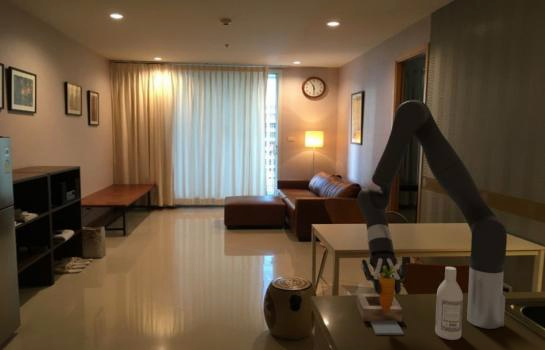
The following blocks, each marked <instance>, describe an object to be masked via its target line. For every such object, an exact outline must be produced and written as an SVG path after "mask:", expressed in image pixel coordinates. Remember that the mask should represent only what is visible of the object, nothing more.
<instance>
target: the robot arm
mask: <svg viewBox="0 0 545 350" xmlns="http://www.w3.org/2000/svg"><path fill="white" fill-rule="evenodd" d="M413 136H414V137H415V138H416V139H417V141H418V142H419V144H420V146H421V148H422V150H423V153H424V157H425V160H426V163H427V164H428V165H427V166H428V168H429V170H430V172H431V173H432V175H433V177H434V178H435V180H436V181H437V183H438V184H439V186H440V187H441V189H442V190H443V191H444V192H445V194H446V195H447V196H448V198H450V199H451V200H452V201H453V203H454V204H455V205H456V206H457V207H458V209H459V210H460V212H461V213H462V215H463V217H464V219H465V221H466V224H467V225H468V227H469V230H470V232H471V238H470V239H471V240H470V241H471V244H470V245H471V246H470V257H469V267H468V268H469V270H468V292H467V293H468V294H467V309H466V310H467V311H466V320H467V321H468V322H469V323H470V324H471V325H472V326H476V327H477V328H478V327H479V328H483V329H489V330H491V329H492V330H493V329H499V328H501V327H504V326H505V325H504V324H505V307H506V306H505V305H506V296H505V295H504V294H503V290H504V289H503V287H504V269H505V264H506V258H507V256H506V255H507V244H508V241H507V240H508V233H507V232H508V231H507V228H506V227H505V225H504V224H503V222H502V221H501V220H500V219H499V217H497V215H496V214H495V213H494V212H493V211H492V209H491V208H490V206H489V205H488V204H487V203H486V202H485V200H484V198H483V197H482V196H481V194H480V192H479V189H478V188H477V187H478V186H477V185H476V183H475V180H474V178H473V177H472V175H471V174H470V172H469V169H468V168H467V167H466V165H465V164H464V161H463V160H462V159H461V158H460V156H459V155H458V153H457V152H456V150H455V149H454V148H453V146H452V144H450V142H449V141H448V140H447V138H446V137H445V136H444V134H443V133H442V132H441V129H440V128H439V126H438V124H437V122H436V120H435V118H434V117H433V114H432V111H431V109H430V108H429V106H428V105H427V104H426V103H425V102H424V101H422V100H419V99H418V100H417V99H413V100H412V99H411V100H406V101H404V102H402V103H401V104H400V105H399V106H398V107H397V108H396V112H395V115H394V119H393V123H392V126H391V130H390V134H389V137H388V140H387V143H386V145H385V148H384V149H383V152H382V155H381V157H379V158H380V159H379V161H378V163H377V165H376V168H375V170H374V172H373V173H372V177H371V180H372V183H373V184H374V185H376V186H377V187H379V190H377V189H372V188H362V189H361V190H360V191H359V193H358V195H357V205H358V208H359V210H360V212H361V215H362V216H363V218H364V220H365V225H366V232H367V233H366V236H367V237H366V238H367V244H368V251H369V252H368V253H369V259H362V261H361V263H360V266H361V269H362V273H363V274H364V277H365V279H366V281H371V282H372V283H373V291H374V293H376V294H380V285H379V277H380V276H379V275H380V274H384V271H383V266H385V267H386V269H387V271H388V272H389V270H390V268H391V266H393V269H392V270H394V271H395V272H394V273H392V274H391V276H390V277H392V278H394V279H395V291H394V294H395V295H397V296H398V295H399V294H400V293H401V291H402V286H401V282H404V281H405V278H406V275H407V273H406V272H407V260H405V259H403V260H398V258H397V257H396V254H395V250H394V244H393V239H392V233H391V231H390V227H389V220H388V217H387V214H386V213H385V212H384V211H385V210H386V209H387V208H388V207H389V204H390V199H391V192H392V189H393V184H394V181H395V179H396V177H397V175H398V173H399V171H400V168H401V166H402V162H403V159H404V156H405V152H406V150H407V148H408V146H409V143H410V141H411V140H412V138H413ZM396 265H397V267H398V268H399V269H400V270H399V273H398V271H397V268H396ZM370 266H371V267H372V268H373V269H374V273H373V274H371V270H370V268H369V267H370Z"/></svg>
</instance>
